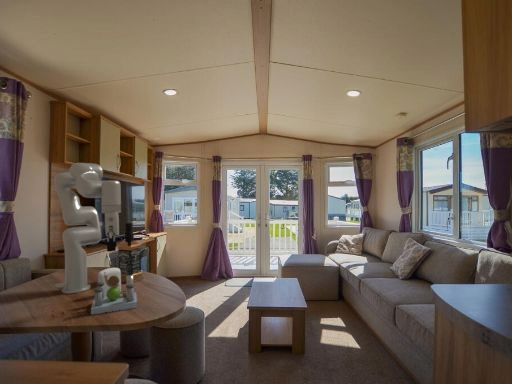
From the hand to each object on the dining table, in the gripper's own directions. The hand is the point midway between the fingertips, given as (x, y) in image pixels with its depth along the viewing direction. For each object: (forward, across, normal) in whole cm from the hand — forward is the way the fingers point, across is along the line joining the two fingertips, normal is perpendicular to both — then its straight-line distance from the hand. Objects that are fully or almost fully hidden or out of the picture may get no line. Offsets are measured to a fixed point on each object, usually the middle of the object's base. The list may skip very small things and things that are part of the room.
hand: (111, 249), depth 130 cm
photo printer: (+24, +18, +2) cm, 30 cm away
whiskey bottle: (+24, +40, -7) cm, 47 cm away
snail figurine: (+22, 0, 0) cm, 22 cm away
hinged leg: (+21, +2, -7) cm, 23 cm away
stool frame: (+24, 0, -1) cm, 24 cm away
